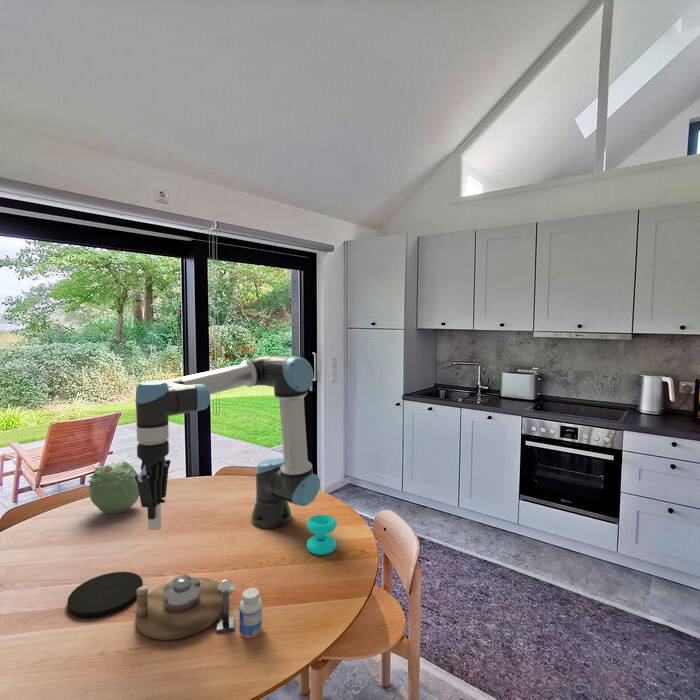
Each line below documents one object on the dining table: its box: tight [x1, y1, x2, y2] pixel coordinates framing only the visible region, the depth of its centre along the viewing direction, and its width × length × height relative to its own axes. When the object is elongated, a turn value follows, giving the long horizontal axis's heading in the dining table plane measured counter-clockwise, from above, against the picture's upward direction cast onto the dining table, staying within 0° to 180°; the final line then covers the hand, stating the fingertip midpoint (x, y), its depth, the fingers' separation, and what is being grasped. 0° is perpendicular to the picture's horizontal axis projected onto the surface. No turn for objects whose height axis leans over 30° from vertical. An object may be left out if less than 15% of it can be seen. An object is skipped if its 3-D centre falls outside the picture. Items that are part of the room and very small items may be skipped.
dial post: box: [216, 578, 235, 634], centre depth 105 cm, size 4×4×12 cm
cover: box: [163, 574, 200, 614], centre depth 110 cm, size 9×9×6 cm
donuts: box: [306, 514, 338, 556], centre depth 142 cm, size 10×10×10 cm
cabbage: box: [87, 461, 140, 515], centre depth 166 cm, size 16×19×20 cm
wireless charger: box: [67, 571, 144, 620], centre depth 115 cm, size 18×18×2 cm
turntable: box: [135, 577, 222, 641], centre depth 110 cm, size 22×22×8 cm
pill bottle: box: [238, 587, 263, 639], centre depth 103 cm, size 6×5×10 cm
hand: (154, 528), depth 111 cm, fingers closed
